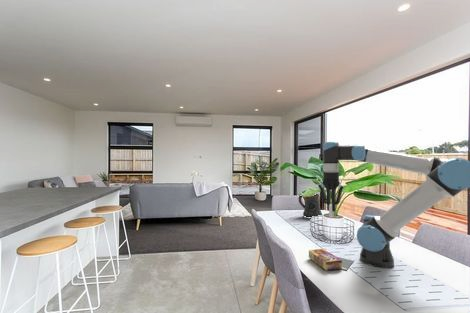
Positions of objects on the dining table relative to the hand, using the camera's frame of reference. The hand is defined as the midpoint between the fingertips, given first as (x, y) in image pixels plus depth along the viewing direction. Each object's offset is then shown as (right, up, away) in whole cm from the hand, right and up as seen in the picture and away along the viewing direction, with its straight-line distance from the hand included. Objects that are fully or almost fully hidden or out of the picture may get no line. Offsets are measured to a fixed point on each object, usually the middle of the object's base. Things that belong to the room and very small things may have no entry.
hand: (331, 217), depth 125 cm
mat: (+1, -22, -1) cm, 22 cm away
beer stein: (+19, -24, +94) cm, 99 cm away
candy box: (-7, -20, +4) cm, 22 cm away
